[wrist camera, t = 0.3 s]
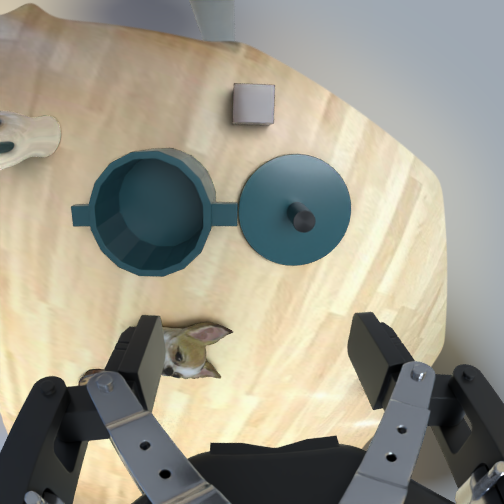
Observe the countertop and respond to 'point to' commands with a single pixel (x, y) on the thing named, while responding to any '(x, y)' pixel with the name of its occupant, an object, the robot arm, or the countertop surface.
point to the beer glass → (26, 137)
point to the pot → (153, 211)
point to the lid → (294, 209)
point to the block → (253, 104)
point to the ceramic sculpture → (191, 350)
